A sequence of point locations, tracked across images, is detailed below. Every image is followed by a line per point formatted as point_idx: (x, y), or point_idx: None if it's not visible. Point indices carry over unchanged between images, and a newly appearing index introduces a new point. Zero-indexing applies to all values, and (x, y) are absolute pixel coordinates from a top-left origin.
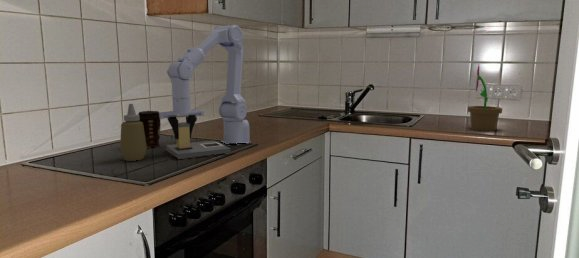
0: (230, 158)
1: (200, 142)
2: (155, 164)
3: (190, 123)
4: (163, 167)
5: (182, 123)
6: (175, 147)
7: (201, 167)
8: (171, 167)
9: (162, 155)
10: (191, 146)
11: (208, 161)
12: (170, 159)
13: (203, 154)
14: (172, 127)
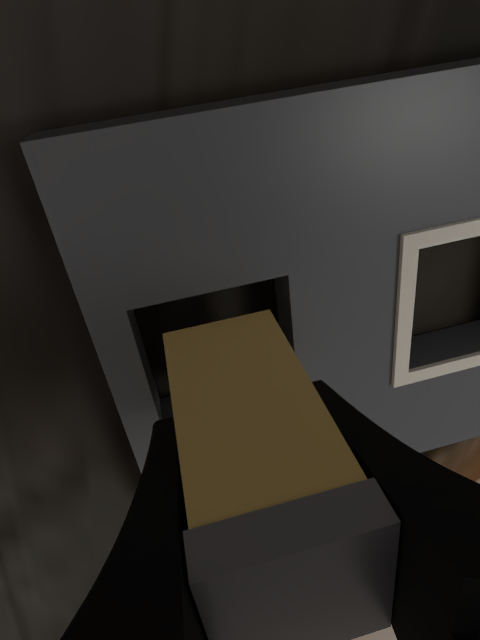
0: None
1: (455, 113)
2: (10, 554)
3: (401, 629)
4: (70, 598)
5: (300, 624)
6: (149, 304)
7: None
8: None
9: (22, 337)
10: (306, 303)
11: None
12: (103, 463)
13: None
14: (129, 551)
